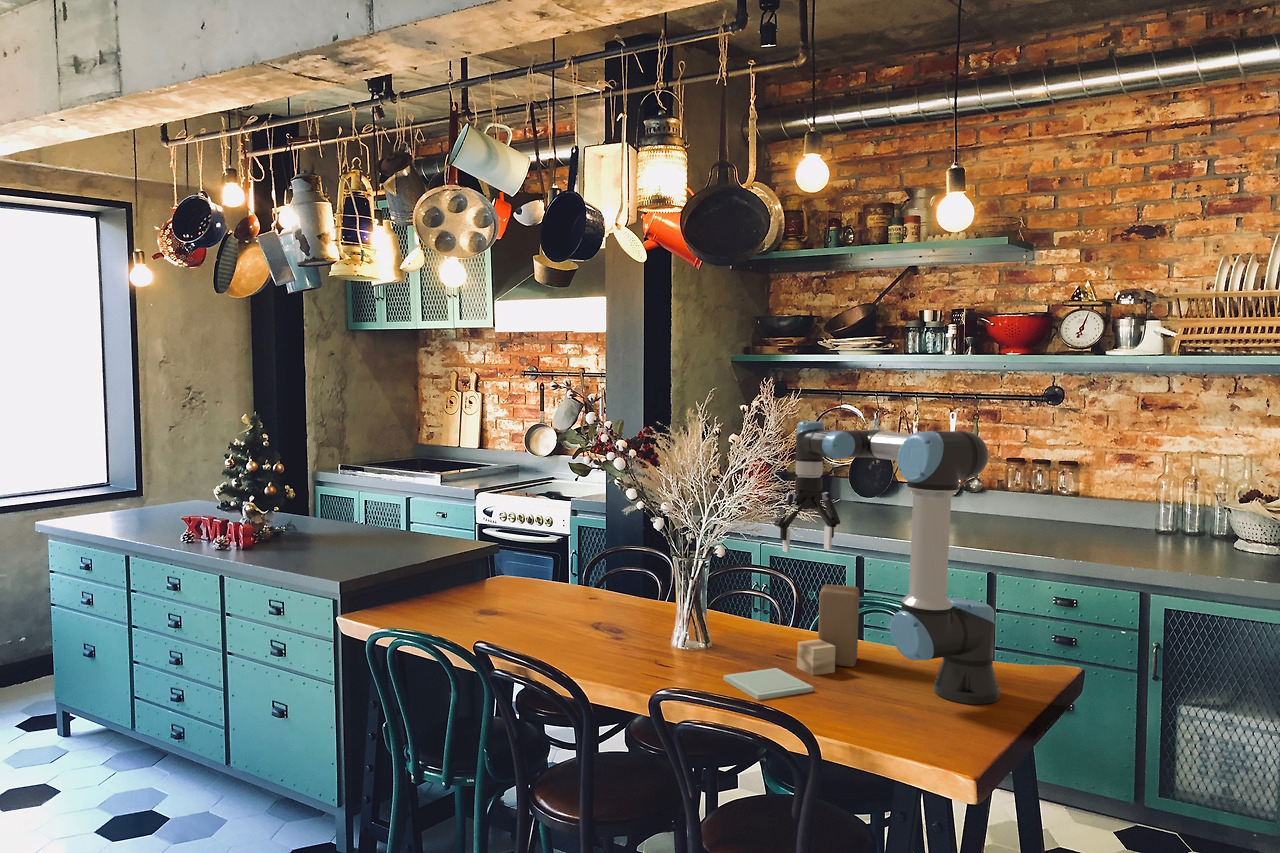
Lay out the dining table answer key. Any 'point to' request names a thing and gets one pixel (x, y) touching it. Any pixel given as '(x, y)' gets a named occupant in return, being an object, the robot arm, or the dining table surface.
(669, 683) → the dining table surface
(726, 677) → the plate
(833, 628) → the wooden block
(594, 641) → the dining table surface
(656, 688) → the dining table surface
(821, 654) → the oak cube
